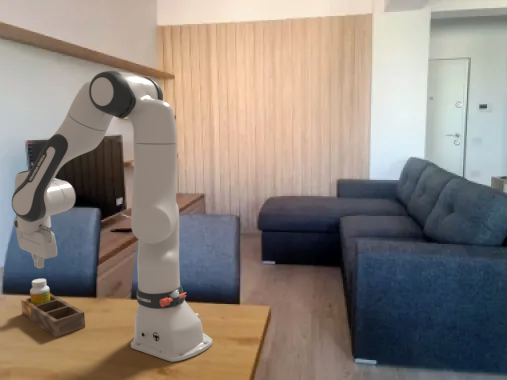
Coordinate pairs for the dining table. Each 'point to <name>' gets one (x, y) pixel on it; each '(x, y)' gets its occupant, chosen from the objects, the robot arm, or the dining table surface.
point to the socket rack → (54, 315)
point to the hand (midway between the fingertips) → (39, 267)
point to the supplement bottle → (39, 292)
